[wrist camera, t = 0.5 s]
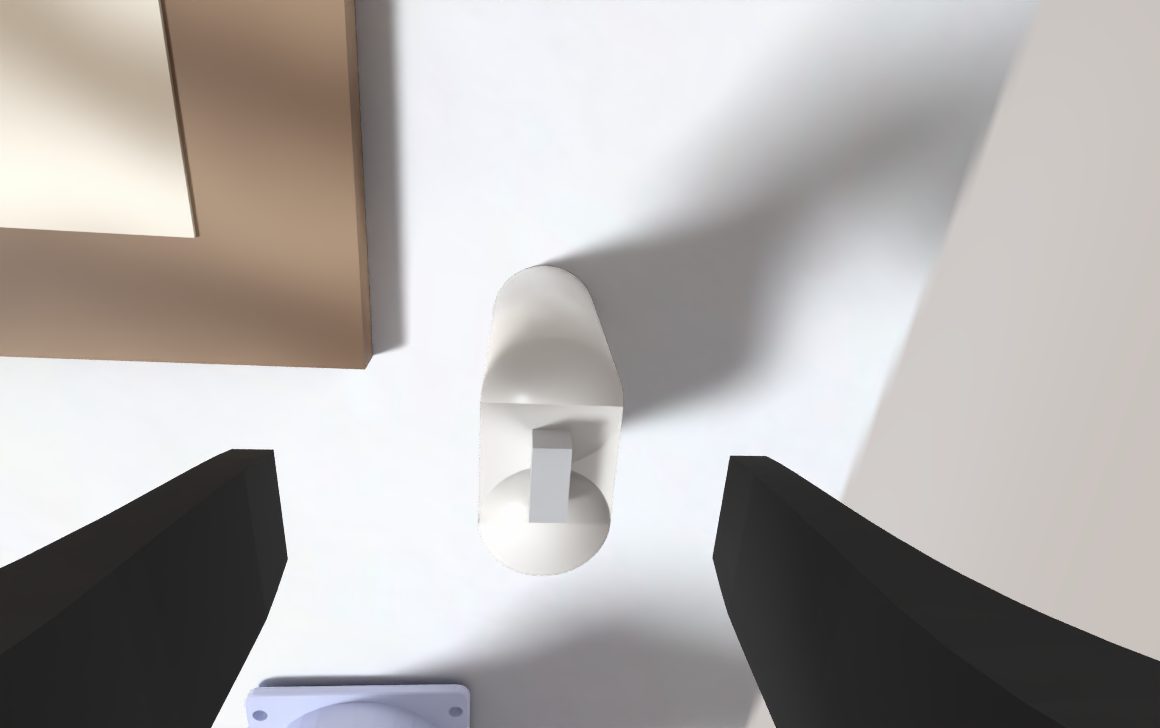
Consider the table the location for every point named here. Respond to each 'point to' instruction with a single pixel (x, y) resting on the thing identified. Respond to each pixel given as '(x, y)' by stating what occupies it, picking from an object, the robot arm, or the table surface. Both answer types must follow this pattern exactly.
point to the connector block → (547, 426)
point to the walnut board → (182, 182)
